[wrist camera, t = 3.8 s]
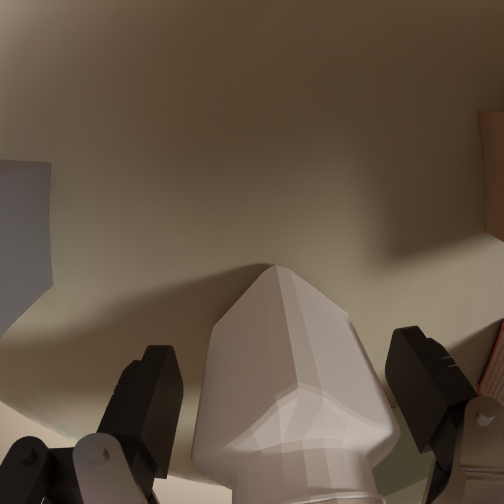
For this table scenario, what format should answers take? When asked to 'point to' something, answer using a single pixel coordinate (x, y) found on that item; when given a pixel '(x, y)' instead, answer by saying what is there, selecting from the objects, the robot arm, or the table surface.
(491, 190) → the walnut block
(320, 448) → the salt shaker
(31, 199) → the slate grey block
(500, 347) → the cracker box
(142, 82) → the table surface
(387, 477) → the sage green block
